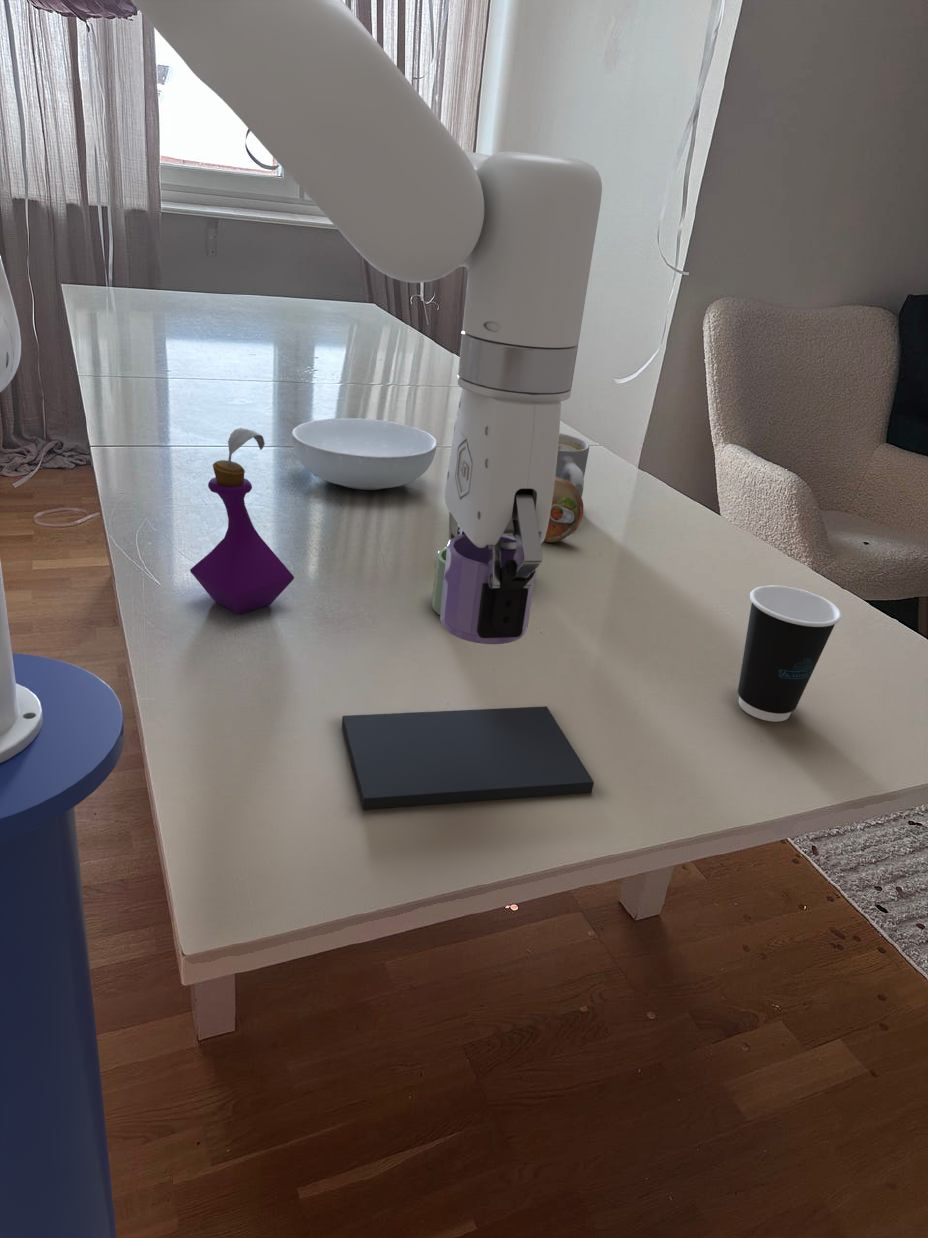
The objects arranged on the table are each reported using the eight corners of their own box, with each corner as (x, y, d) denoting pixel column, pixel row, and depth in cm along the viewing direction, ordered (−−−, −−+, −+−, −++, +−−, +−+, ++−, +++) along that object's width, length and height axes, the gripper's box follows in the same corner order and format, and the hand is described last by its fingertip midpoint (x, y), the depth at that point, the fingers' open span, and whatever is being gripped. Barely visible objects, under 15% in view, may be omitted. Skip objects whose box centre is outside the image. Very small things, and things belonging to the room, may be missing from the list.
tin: (472, 519, 123) (479, 460, 119) (483, 514, 125) (491, 455, 121) (570, 550, 116) (581, 488, 113) (580, 544, 119) (591, 483, 115)
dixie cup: (739, 677, 90) (768, 577, 85) (818, 709, 86) (852, 605, 81) (708, 706, 84) (737, 600, 79) (791, 741, 80) (826, 632, 75)
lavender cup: (452, 646, 63) (461, 567, 60) (431, 605, 68) (438, 532, 66) (538, 643, 65) (551, 567, 62) (511, 604, 70) (522, 532, 68)
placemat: (362, 809, 65) (363, 798, 64) (341, 725, 74) (342, 715, 74) (592, 792, 70) (594, 782, 69) (545, 715, 79) (546, 706, 79)
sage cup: (439, 622, 93) (445, 569, 91) (426, 595, 99) (431, 545, 96) (498, 621, 95) (506, 569, 92) (482, 595, 100) (488, 545, 98)
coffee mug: (503, 495, 134) (512, 429, 129) (565, 497, 136) (576, 433, 132) (526, 527, 122) (537, 456, 118) (594, 529, 124) (607, 460, 120)
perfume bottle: (234, 625, 87) (234, 445, 80) (189, 599, 92) (185, 425, 84) (294, 606, 93) (300, 435, 85) (249, 581, 97) (251, 416, 89)
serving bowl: (385, 455, 146) (388, 413, 143) (460, 496, 131) (465, 450, 128) (266, 465, 134) (267, 419, 131) (334, 511, 119) (336, 461, 116)
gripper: (430, 338, 65) (410, 566, 72) (500, 395, 50) (466, 673, 58) (528, 345, 67) (498, 565, 75) (623, 401, 52) (573, 669, 60)
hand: (484, 610), depth 66 cm, fingers closed on lavender cup, 6 cm apart
